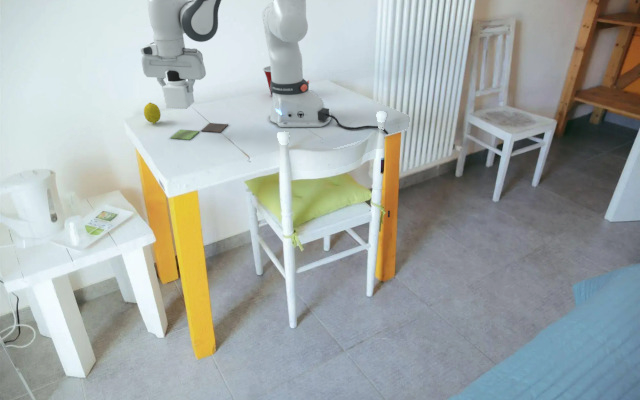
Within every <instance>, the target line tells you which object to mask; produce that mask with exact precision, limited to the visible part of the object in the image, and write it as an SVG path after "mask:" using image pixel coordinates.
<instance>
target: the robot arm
mask: <svg viewBox="0 0 640 400" xmlns="http://www.w3.org/2000/svg"><path fill="white" fill-rule="evenodd" d="M221 2H222V0H147V11H148V17H149V24H150V26H151V28H152V31H153V32H152V33H153V36H152V38H153V41H152V42H151V43H149V44H146V45H144V46H142V47H141V48H140V53H141V55H142V56H141V66H142V71H143V74H144V75H145V77H146V78H155V79H156V81H157V82H158V84H159V85H160V87H161V89H162V91H163V86H165V85H166V84H167V82H166V81H165V79H166V74H165V72H166V71H168V70H171V71H177V72H178V73H179V77H180V79H186V80H187V81H188V82H190V84H189V86H188V87H187V92H188V93H192V92H193V93H194V86H195V82H196V81H201V80H203V79H204V78H205V77H206V75H207V72H206V67H205V64H204V57H203V53H202V52H201V51H200V50H198V49H197V48H189V47H186V45H185V39H184V34H185V35H186V36H187V37H188V38H189V39H190V40H192V41H194V42H197V43H204V42H208V41H210V40H211V39H213V37H215V36H216V34H217V33H218V32H217V31H218V28H219V8H220V5H221ZM261 20H262V25H263V29H264V35H265V36H264V37H265V41H266V46H267V51H268V57H269V66H270V67H271V79H272V80H271V84H270V88H271V92H270V95H271V111H270V115H269V120H270V121H271V123H273V124H276V125H278V127H280V128H322V127H324V126H327V125H328V124H329V123H330V121H331V120H332V119H333V120H334V121H335V123H336V124H337V125H338V126H339V127H340V128H342V129H344V130H361V129H379V128H378V125H362V126H356V127H355V126H344V125H342V124H341V123H340V121H339V120H338V118H337V117H336V116H334V115H332V113H331V112H330V108H327V107H326V106H325V102H324V100H323V99H322V98H320V97H319V96H318V95H317V94H315V93H314V92H313V91H312V90H310V88H309V87H310V86H309V85H310V80H309V79H308V80H306V79H305V78H304V77H303V76H304V75H303V56H302V53H301V50H300V46H299V42H300V41H302V40H303V39H304V38H305V37H306V35H307V33H308V29H309V24H308V19H307V0H272V2H271V3H268V4H267V5H266V6H264V8H263V11H262V14H261ZM382 131H383V132H384V133H385V134H386V135H389V132H388V131H387V130H386V128H384V130H382ZM390 217H391V210H387V218H390Z"/></svg>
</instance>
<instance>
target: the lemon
mask: <svg viewBox="0 0 640 400" xmlns="http://www.w3.org/2000/svg"><path fill="white" fill-rule="evenodd" d="M161 115H162V113H161V110H160V108H159V106H158V105H157V104H156V103H153V102H148V103H147V104H145V106H144V107H143V116H144V118H145V120H146V121H147V122H148V123H152V124H153V125H156V123H157V122H159V121H160V119H161V117H162V116H161Z"/></svg>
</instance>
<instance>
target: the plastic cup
mask: <svg viewBox="0 0 640 400" xmlns="http://www.w3.org/2000/svg"><path fill="white" fill-rule="evenodd" d="M262 71H263V72H264V74H265V77H266V81H267V85H268V88H269V91H270V93H271V88H270V84H271V80H272V79H271V67H270V65H268V66H265V67H263V68H262Z"/></svg>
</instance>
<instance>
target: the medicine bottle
mask: <svg viewBox="0 0 640 400" xmlns="http://www.w3.org/2000/svg"><path fill="white" fill-rule="evenodd" d="M165 74H166V78H165V80H166V81H165V82H166V85H165V86H163V90H162V93H163V98H164V104H165V108H166V109H172V110H173V109H175V110H177V109H178V110H179V109H180V110H187V109H188V108H190V107H191V106H192V105H193V104H194V103H195V99H194V98H195V97H194V91H193V92H192V93H188V92H187V87H188V86H189V84H190V82H188V80H187V79H180V77H179V73H178V72H177V71H171V70H168V71H166V72H165Z"/></svg>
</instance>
